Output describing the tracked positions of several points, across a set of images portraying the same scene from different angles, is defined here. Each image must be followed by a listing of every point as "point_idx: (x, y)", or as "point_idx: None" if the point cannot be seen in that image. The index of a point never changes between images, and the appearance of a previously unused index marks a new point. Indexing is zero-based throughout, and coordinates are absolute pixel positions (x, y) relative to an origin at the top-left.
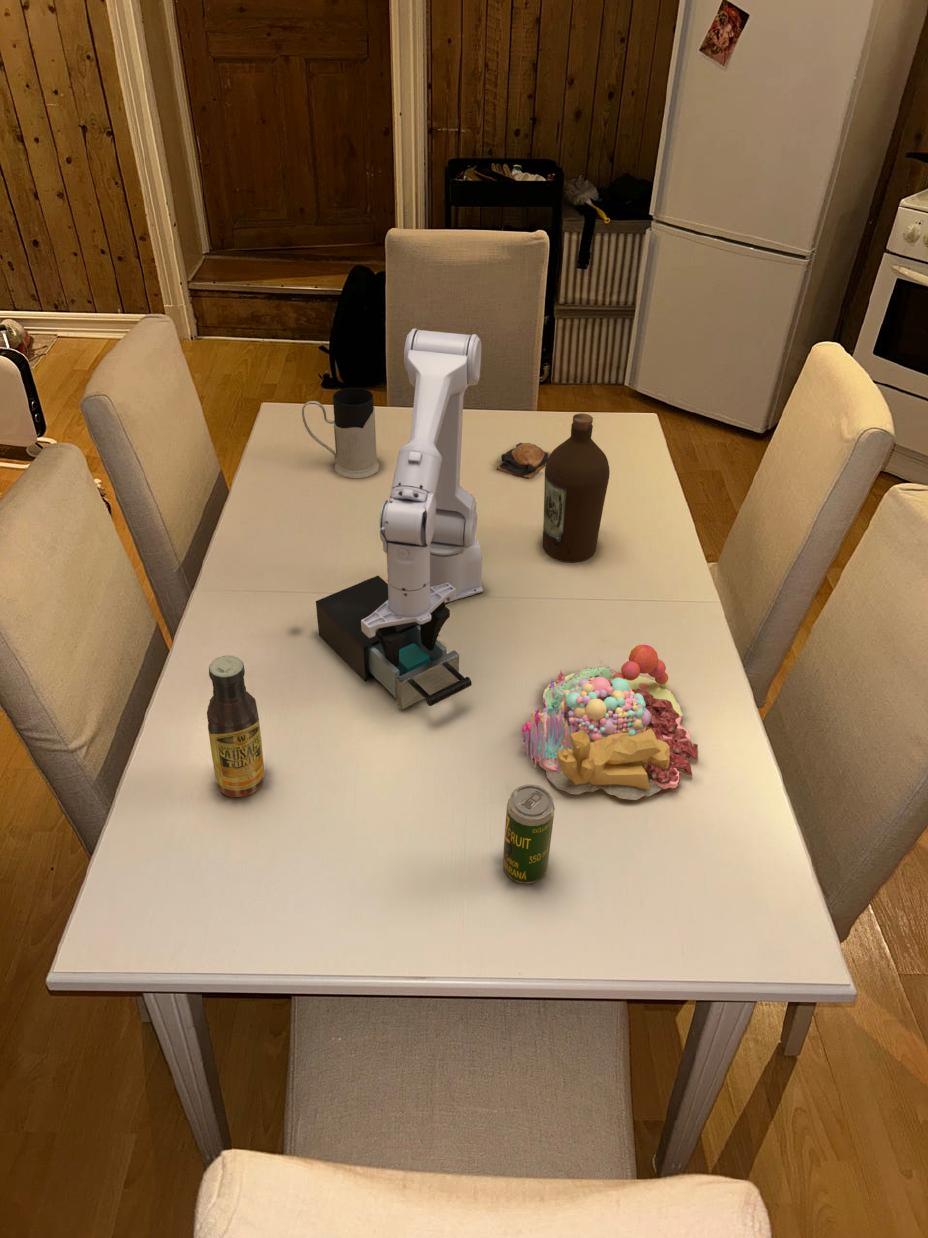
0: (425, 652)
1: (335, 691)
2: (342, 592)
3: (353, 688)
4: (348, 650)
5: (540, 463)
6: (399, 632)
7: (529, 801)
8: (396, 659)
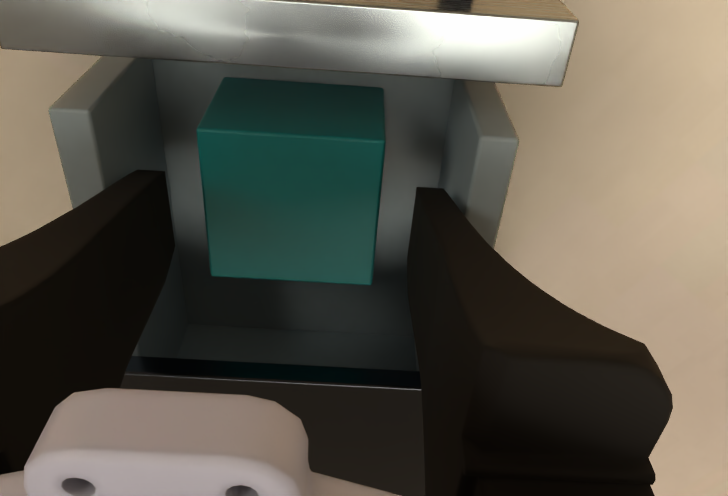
0: None
1: (606, 264)
2: None
3: (542, 236)
4: None
5: None
6: (262, 371)
7: None
8: (453, 217)
